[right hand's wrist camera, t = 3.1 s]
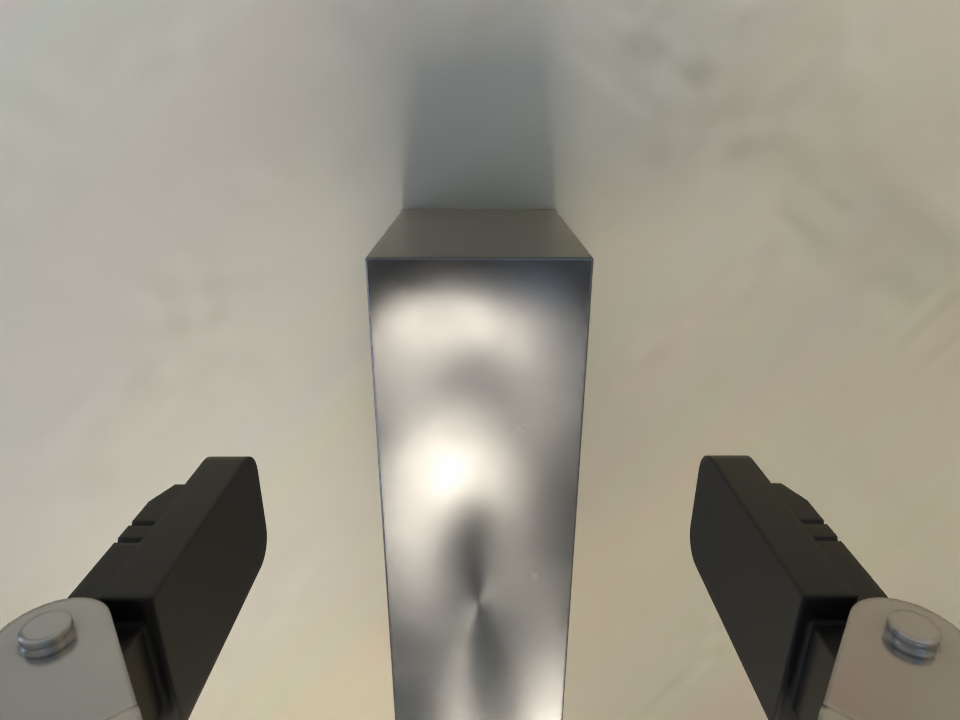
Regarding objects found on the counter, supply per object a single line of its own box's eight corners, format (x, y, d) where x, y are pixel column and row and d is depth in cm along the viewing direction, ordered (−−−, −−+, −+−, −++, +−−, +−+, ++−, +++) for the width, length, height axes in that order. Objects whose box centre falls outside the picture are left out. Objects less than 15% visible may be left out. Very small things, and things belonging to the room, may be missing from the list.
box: (402, 209, 25) (364, 257, 17) (555, 209, 25) (593, 257, 17) (421, 654, 33) (402, 832, 25) (535, 654, 33) (555, 832, 25)
